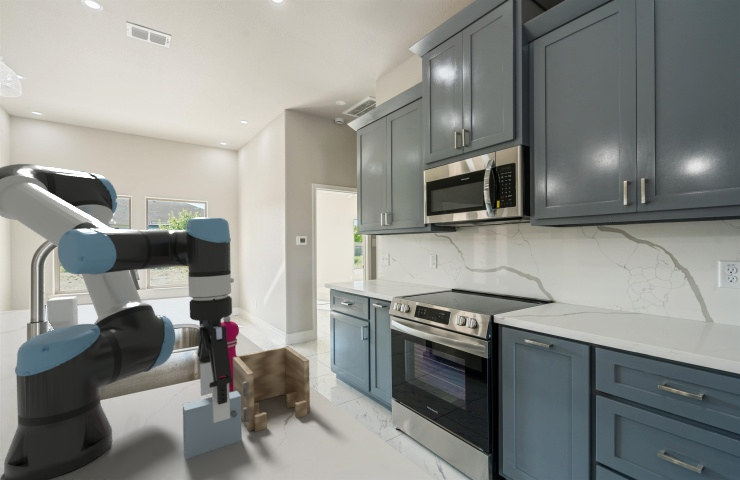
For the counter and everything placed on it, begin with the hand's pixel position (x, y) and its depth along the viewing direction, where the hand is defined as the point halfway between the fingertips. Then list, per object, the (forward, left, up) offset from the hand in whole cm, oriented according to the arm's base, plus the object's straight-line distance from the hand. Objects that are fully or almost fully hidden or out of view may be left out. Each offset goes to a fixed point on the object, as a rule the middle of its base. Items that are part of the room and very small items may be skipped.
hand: (214, 405), depth 68 cm
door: (0, 0, -8) cm, 8 cm away
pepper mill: (+8, +25, -8) cm, 27 cm away
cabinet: (+14, +8, -8) cm, 18 cm away
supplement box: (-39, +136, -8) cm, 142 cm away
